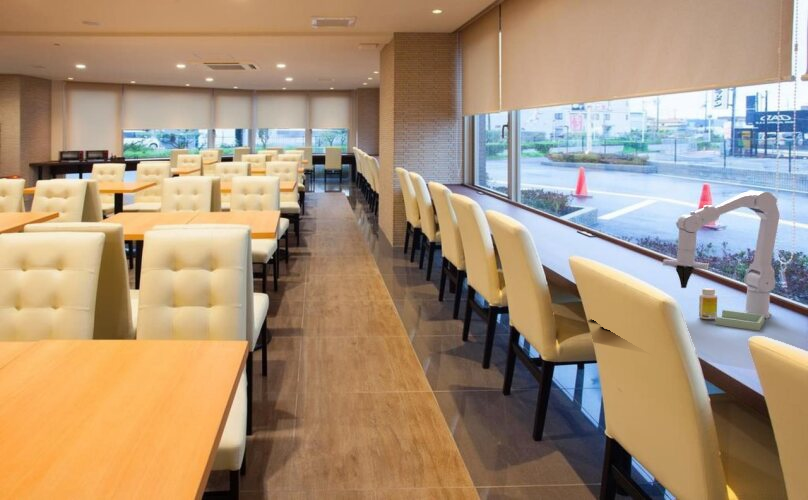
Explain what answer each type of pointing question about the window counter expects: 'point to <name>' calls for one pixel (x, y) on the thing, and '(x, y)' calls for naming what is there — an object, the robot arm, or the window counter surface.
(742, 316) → the tray
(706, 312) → the supplement bottle
